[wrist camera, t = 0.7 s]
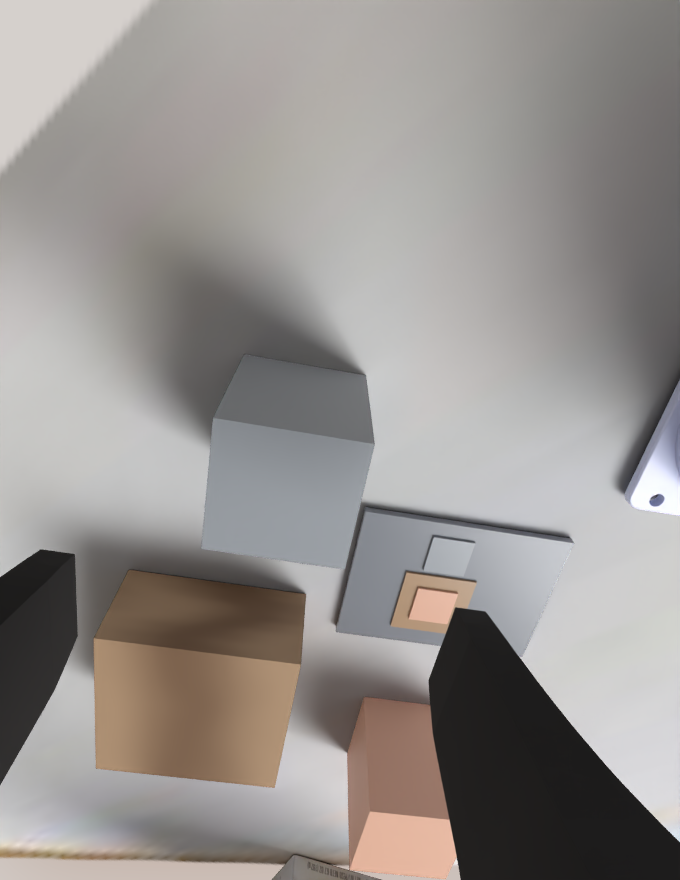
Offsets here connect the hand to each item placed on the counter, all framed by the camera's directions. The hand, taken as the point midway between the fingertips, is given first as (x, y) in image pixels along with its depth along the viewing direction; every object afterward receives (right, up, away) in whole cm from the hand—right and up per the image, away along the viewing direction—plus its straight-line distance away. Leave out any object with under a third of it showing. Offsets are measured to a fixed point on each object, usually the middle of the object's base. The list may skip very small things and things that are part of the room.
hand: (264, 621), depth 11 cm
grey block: (0, +4, +8) cm, 9 cm away
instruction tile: (+6, -2, +11) cm, 13 cm away
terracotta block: (+4, -10, +15) cm, 19 cm away
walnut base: (-4, -5, +13) cm, 14 cm away
